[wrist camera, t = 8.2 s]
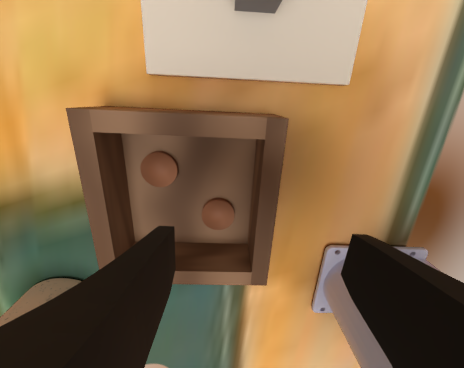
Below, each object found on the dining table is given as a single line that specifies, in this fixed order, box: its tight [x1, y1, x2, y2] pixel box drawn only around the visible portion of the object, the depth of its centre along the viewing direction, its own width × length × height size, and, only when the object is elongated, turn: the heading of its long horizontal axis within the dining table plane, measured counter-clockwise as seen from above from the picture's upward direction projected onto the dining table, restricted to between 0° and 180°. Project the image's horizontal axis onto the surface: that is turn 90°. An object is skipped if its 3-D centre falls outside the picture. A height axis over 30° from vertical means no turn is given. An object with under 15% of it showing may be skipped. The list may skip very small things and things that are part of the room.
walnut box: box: [66, 106, 289, 285], centre depth 16 cm, size 12×12×4 cm
